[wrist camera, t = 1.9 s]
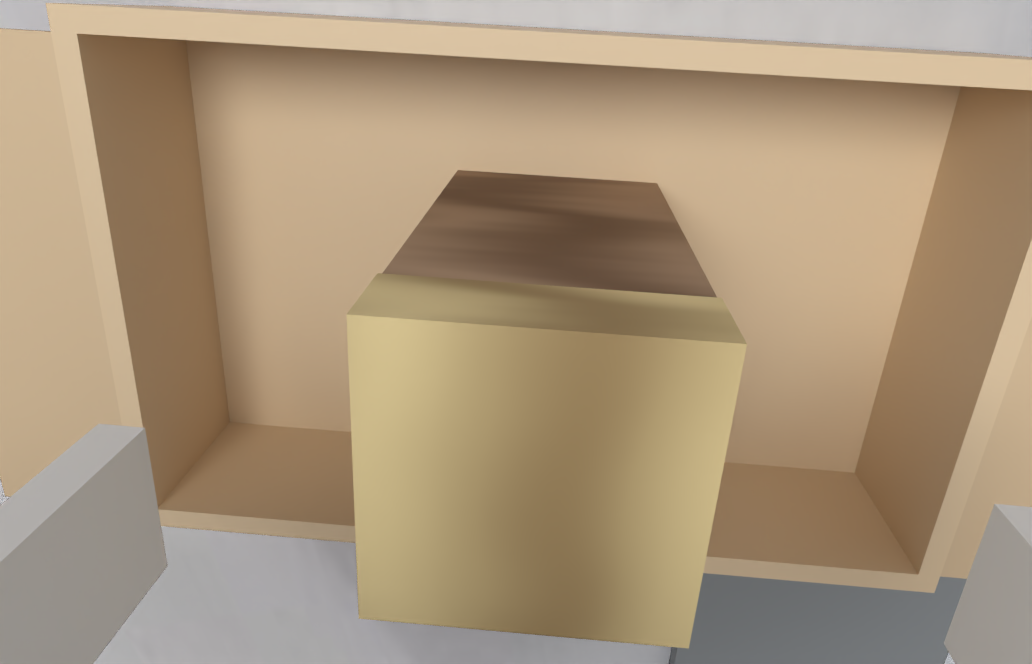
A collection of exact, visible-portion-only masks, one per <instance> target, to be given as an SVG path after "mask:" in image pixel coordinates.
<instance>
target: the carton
mask: <svg viewBox="0 0 1032 664" xmlns="http://www.w3.org/2000/svg"><path fill="white" fill-rule="evenodd" d="M46 8H47V14H48V19H49V25H50V30H51V31H38V30H21V29H4V28H0V478H1V482H2V486H3V490H4V493H5V496H8V497H11V496H12V495H13V494H14V493H16V492H17V491H18V490H19V489H20V488H22V487H23V486H24V485H25V484H26V483H28V482H29V481H30V480H31V479H33V478H34V477H35V476H36V475H37V474H39V473H40V472H41V471H42V470H43V469H45V468H46V467H47V466H48V465H49V464H51V463H52V462H53V461H54V460H55V459H57V458H58V457H59V456H60V455H61V454H63V453H64V452H65V451H66V450H67V449H69V448H70V447H71V446H72V445H73V444H75V443H76V442H77V441H78V440H79V439H81V438H82V437H83V436H84V435H85V434H87V433H88V432H89V431H90V430H92V429H93V428H94V427H95V426H96V425H98V424H108V425H119V426H130V427H142V428H145V431H146V437H147V443H148V449H149V456H150V462H151V468H152V474H153V480H154V486H155V493H156V499H157V505H158V511H159V517H160V523H161V526H167V527H178V528H190V529H201V530H213V531H224V532H236V533H247V534H259V535H270V536H282V537H294V538H305V539H317V540H328V541H340V542H351V543H356V537H355V513H354V488H353V464H352V439H351V414H350V390H349V365H348V341H347V316H346V314H347V313H348V312H349V310H350V309H351V308H352V306H353V305H354V304H355V302H356V301H357V300H358V298H359V297H360V296H361V294H362V293H363V292H364V290H365V289H366V288H367V286H368V285H369V284H370V282H371V281H372V280H373V278H374V277H375V276H376V274H377V273H383V272H384V270H385V269H386V267H387V266H388V265H389V263H390V262H391V261H392V259H393V258H394V257H395V255H396V254H397V252H398V251H399V250H400V248H401V247H402V246H403V244H404V243H405V241H406V240H407V239H408V237H409V236H410V235H411V233H412V232H413V231H414V229H415V228H416V226H417V225H418V224H419V222H420V221H421V220H422V218H423V217H424V215H425V214H426V213H427V211H428V210H429V209H430V207H431V206H432V205H433V203H434V202H435V200H436V199H437V198H438V196H439V195H440V194H441V192H442V191H443V189H444V188H445V187H446V185H447V184H448V183H449V181H450V180H451V179H452V177H453V176H454V174H455V173H456V172H457V170H466V171H482V172H497V173H512V174H527V175H543V176H558V177H573V178H588V179H603V180H619V181H634V182H649V183H657V184H658V186H659V188H660V190H661V192H662V194H663V195H664V197H665V199H666V201H667V203H668V205H669V207H670V209H671V211H672V213H673V214H674V216H675V218H676V220H677V222H678V224H679V226H680V228H681V230H682V232H683V233H684V235H685V237H686V239H687V241H688V243H689V245H690V247H691V249H692V251H693V252H694V254H695V256H696V258H697V260H698V262H699V264H700V266H701V268H702V270H703V271H704V273H705V275H706V277H707V279H708V281H709V283H710V285H711V287H712V289H713V290H714V292H715V294H716V296H717V298H722V299H723V301H724V302H725V304H726V306H727V308H728V310H729V312H730V313H731V315H732V317H733V319H734V321H735V323H736V325H737V326H738V328H739V330H740V332H741V334H742V336H743V337H744V339H745V341H746V343H747V348H746V353H745V358H744V363H743V368H742V374H741V379H740V384H739V389H738V394H737V400H736V405H735V410H734V415H733V421H732V426H731V431H730V436H729V441H728V447H727V452H726V457H725V462H724V467H723V473H722V478H721V483H720V488H719V493H718V499H717V504H716V509H715V514H714V519H713V525H712V530H711V535H710V540H709V545H708V551H707V556H706V561H705V566H704V571H703V573H708V574H720V575H731V576H743V577H754V578H766V579H778V580H789V581H801V582H812V583H824V584H835V585H847V586H858V587H870V588H881V589H893V590H904V591H916V592H927V593H935V590H936V587H937V584H938V581H939V578H940V577H952V578H963V579H967V578H968V575H969V572H970V570H971V567H972V564H973V561H974V559H975V556H976V553H977V550H978V548H979V545H980V542H981V539H982V537H983V534H984V531H985V529H986V526H987V523H988V520H989V518H990V515H991V512H992V509H993V507H994V504H1003V505H1014V506H1025V507H1032V57H1022V56H1010V55H999V54H987V53H971V52H954V51H936V50H919V49H902V48H884V47H867V46H850V45H832V44H815V43H798V42H780V41H763V40H746V39H728V38H711V37H694V36H676V35H659V34H642V33H624V32H607V31H589V30H572V29H555V28H537V27H520V26H503V25H485V24H468V23H451V22H433V21H416V20H399V19H381V18H364V17H347V16H329V15H312V14H295V13H277V12H260V11H243V10H225V9H208V8H191V7H173V6H141V5H104V4H67V3H46Z"/></svg>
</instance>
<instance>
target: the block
mask: <svg viewBox="0 0 1032 664" xmlns="http://www.w3.org/2000/svg"><path fill="white" fill-rule="evenodd" d="M346 316H347V341H348V365H349V390H350V414H351V439H352V464H353V488H354V513H355V537H356V562H357V586H358V611H359V619H370V620H381V621H392V622H403V623H414V624H425V625H436V626H447V627H458V628H469V629H480V630H491V631H502V632H513V633H524V634H535V635H546V636H557V637H568V638H579V639H590V640H601V641H612V642H623V643H634V644H645V645H656V646H667V647H678V648H689V644H690V639H691V634H692V629H693V624H694V618H695V613H696V608H697V603H698V598H699V592H700V587H701V582H702V577H703V571H704V566H705V561H706V556H707V551H708V545H709V540H710V535H711V530H712V525H713V519H714V514H715V509H716V504H717V499H718V493H719V488H720V483H721V478H722V473H723V467H724V462H725V457H726V452H727V447H728V441H729V436H730V431H731V426H732V421H733V415H734V410H735V405H736V400H737V394H738V389H739V384H740V379H741V374H742V368H743V363H744V358H745V353H746V348H747V343H746V341H745V339H744V337H743V336H742V334H741V332H740V330H739V328H738V326H737V325H736V323H735V321H734V319H733V317H732V315H731V313H730V312H729V310H728V308H727V306H726V304H725V302H724V301H723V299H722V298H717V296H716V294H715V292H714V290H713V289H712V287H711V285H710V283H709V281H708V279H707V277H706V275H705V273H704V271H703V270H702V268H701V266H700V264H699V262H698V260H697V258H696V256H695V254H694V252H693V251H692V249H691V247H690V245H689V243H688V241H687V239H686V237H685V235H684V233H683V232H682V230H681V228H680V226H679V224H678V222H677V220H676V218H675V216H674V214H673V213H672V211H671V209H670V207H669V205H668V203H667V201H666V199H665V197H664V195H663V194H662V192H661V190H660V188H659V186H658V184H657V183H649V182H634V181H619V180H603V179H588V178H573V177H558V176H543V175H527V174H512V173H497V172H482V171H466V170H457V172H456V173H455V174H454V176H453V177H452V179H451V180H450V181H449V183H448V184H447V185H446V187H445V188H444V189H443V191H442V192H441V194H440V195H439V196H438V198H437V199H436V200H435V202H434V203H433V205H432V206H431V207H430V209H429V210H428V211H427V213H426V214H425V215H424V217H423V218H422V220H421V221H420V222H419V224H418V225H417V226H416V228H415V229H414V231H413V232H412V233H411V235H410V236H409V237H408V239H407V240H406V241H405V243H404V244H403V246H402V247H401V248H400V250H399V251H398V252H397V254H396V255H395V257H394V258H393V259H392V261H391V262H390V263H389V265H388V266H387V267H386V269H385V270H384V272H383V273H377V274H376V276H375V277H374V278H373V280H372V281H371V282H370V284H369V285H368V286H367V288H366V289H365V290H364V292H363V293H362V294H361V296H360V297H359V298H358V300H357V301H356V302H355V304H354V305H353V306H352V308H351V309H350V310H349V312H348V313H347V314H346Z"/></svg>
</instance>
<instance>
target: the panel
mask: <svg viewBox="0 0 1032 664" xmlns="http://www.w3.org/2000/svg"><path fill="white" fill-rule="evenodd" d="M966 581H967V579H963V578H952V577H940V578H939V581H938V584H937V587H936V590H935V593H927V592H916V591H904V590H893V589H881V588H870V587H858V586H847V585H835V584H824V583H812V582H801V581H789V580H778V579H766V578H754V577H743V576H731V575H720V574H708V573H703V577H702V582H701V587H700V592H699V598H698V603H697V608H696V613H695V618H694V624H693V629H692V634H691V639H690V644H689V648H678V647H672V651H671V657H670V662H669V664H944V663H945V660H946V658H947V655H948V650H947V648H946V647H945V645H944V641H945V638H946V635H947V633H948V630H949V627H950V624H951V622H952V619H953V616H954V613H955V611H956V608H957V605H958V603H959V600H960V597H961V594H962V592H963V589H964V586H965V583H966Z"/></svg>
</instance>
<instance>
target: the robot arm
mask: <svg viewBox="0 0 1032 664" xmlns="http://www.w3.org/2000/svg"><path fill="white" fill-rule="evenodd" d="M166 567H167V560H166V554H165V548H164V542H163V536H162V529H161V523H160V517H159V511H158V505H157V499H156V493H155V486H154V480H153V474H152V468H151V462H150V456H149V449H148V443H147V437H146V431H145V428H142V427H130V426H119V425H108V424H98V425H96V426H95V427H94V428H93V429H92V430H90V431H89V432H88V433H87V434H85V435H84V436H83V437H82V438H81V439H79V440H78V441H77V442H76V443H75V444H73V445H72V446H71V447H70V448H69V449H67V450H66V451H65V452H64V453H63V454H61V455H60V456H59V457H58V458H57V459H55V460H54V461H53V462H52V463H51V464H49V465H48V466H47V467H46V468H45V469H43V470H42V471H41V472H40V473H39V474H37V475H36V476H35V477H34V478H33V479H31V480H30V481H29V482H28V483H26V484H25V485H24V486H23V487H22V488H20V489H19V490H18V491H17V492H16V493H14V494H13V495H12V496H11V497H10V498H8V499H7V500H6V501H5V502H4V503H2V504H1V505H0V664H93V663H94V662H95V661H96V659H97V658H98V657H99V655H100V654H101V653H102V651H103V650H104V649H105V647H106V646H107V645H108V643H109V642H110V641H111V640H112V638H113V637H114V636H115V634H116V633H117V632H118V630H119V629H120V628H121V626H122V625H123V624H124V622H125V621H126V620H127V618H128V617H129V616H130V615H131V613H132V612H133V611H134V609H135V608H136V607H137V605H138V604H139V603H140V601H141V600H142V599H143V597H144V596H145V595H146V594H147V592H148V591H149V590H150V588H151V587H152V586H153V584H154V583H155V582H156V580H157V579H158V578H159V576H160V575H161V574H162V573H163V571H164V570H165V569H166ZM944 645H945V647H946V648H947V650H948V652H949V653H950V655H951V657H952V659H953V660H954V662H955V664H1032V507H1025V506H1014V505H1003V504H994V507H993V509H992V512H991V515H990V518H989V520H988V523H987V526H986V529H985V531H984V534H983V537H982V539H981V542H980V545H979V548H978V550H977V553H976V556H975V559H974V561H973V564H972V567H971V570H970V572H969V575H968V578H967V581H966V583H965V586H964V589H963V592H962V594H961V597H960V600H959V603H958V605H957V608H956V611H955V613H954V616H953V619H952V622H951V624H950V627H949V630H948V633H947V635H946V638H945V641H944Z"/></svg>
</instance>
